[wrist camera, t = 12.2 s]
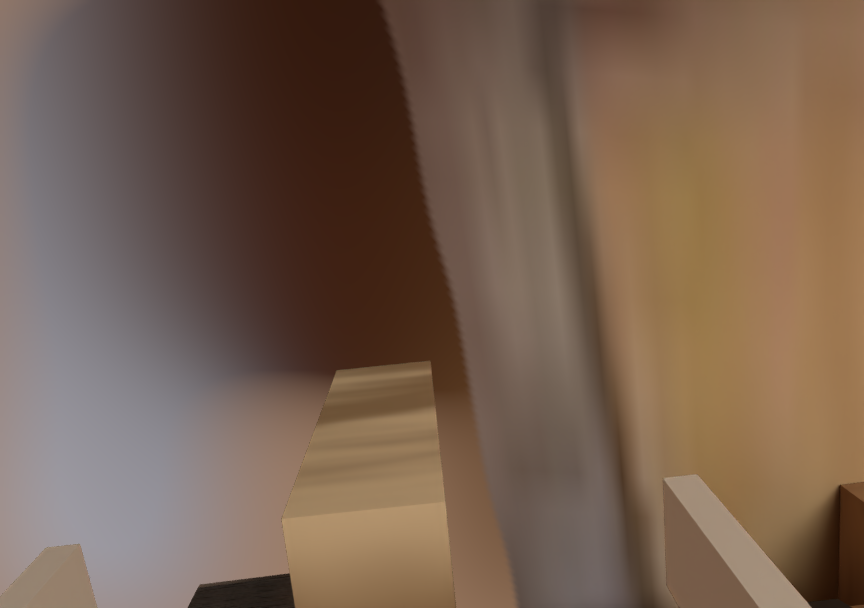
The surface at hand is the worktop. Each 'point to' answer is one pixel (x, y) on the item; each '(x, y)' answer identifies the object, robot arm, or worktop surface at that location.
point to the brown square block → (246, 593)
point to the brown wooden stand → (851, 545)
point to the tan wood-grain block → (372, 497)
